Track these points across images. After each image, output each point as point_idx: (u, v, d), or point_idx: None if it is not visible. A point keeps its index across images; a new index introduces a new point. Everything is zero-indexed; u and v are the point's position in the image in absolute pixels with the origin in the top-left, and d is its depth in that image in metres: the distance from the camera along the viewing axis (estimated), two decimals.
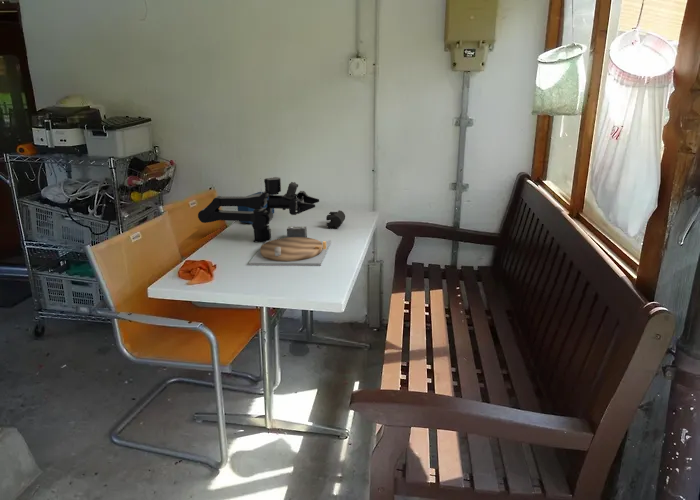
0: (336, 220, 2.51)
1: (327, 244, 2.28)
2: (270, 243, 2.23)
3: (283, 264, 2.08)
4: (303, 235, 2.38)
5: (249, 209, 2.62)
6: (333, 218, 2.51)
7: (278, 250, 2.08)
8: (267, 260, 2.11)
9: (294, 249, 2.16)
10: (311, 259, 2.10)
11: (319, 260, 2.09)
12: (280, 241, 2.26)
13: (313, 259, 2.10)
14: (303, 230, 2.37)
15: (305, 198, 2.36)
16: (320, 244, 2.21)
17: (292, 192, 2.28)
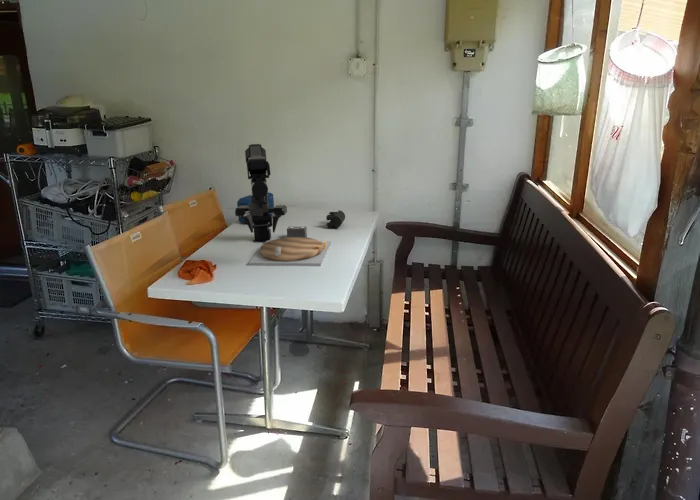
0: (336, 220, 2.51)
1: (327, 244, 2.28)
2: (270, 243, 2.23)
3: (283, 264, 2.08)
4: (303, 235, 2.38)
5: None
6: (333, 218, 2.51)
7: (278, 250, 2.08)
8: (267, 260, 2.11)
9: (294, 249, 2.16)
10: (311, 259, 2.10)
11: (319, 260, 2.09)
12: (280, 241, 2.26)
13: (313, 259, 2.10)
14: (303, 230, 2.37)
15: None
16: (320, 244, 2.21)
17: None
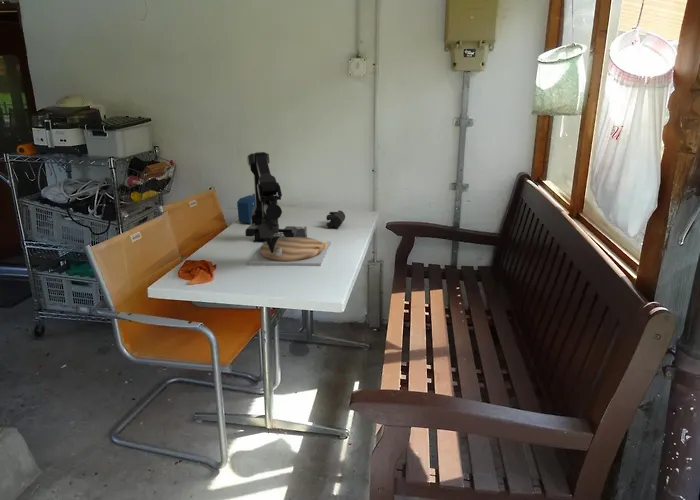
0: (336, 220, 2.51)
1: (327, 244, 2.28)
2: None
3: (283, 264, 2.08)
4: (303, 235, 2.38)
5: (249, 209, 2.62)
6: (333, 218, 2.51)
7: (279, 250, 2.08)
8: (267, 260, 2.11)
9: (295, 249, 2.16)
10: (311, 259, 2.10)
11: (319, 260, 2.09)
12: (280, 241, 2.26)
13: (313, 259, 2.10)
14: (303, 230, 2.37)
15: None
16: (320, 244, 2.21)
17: None
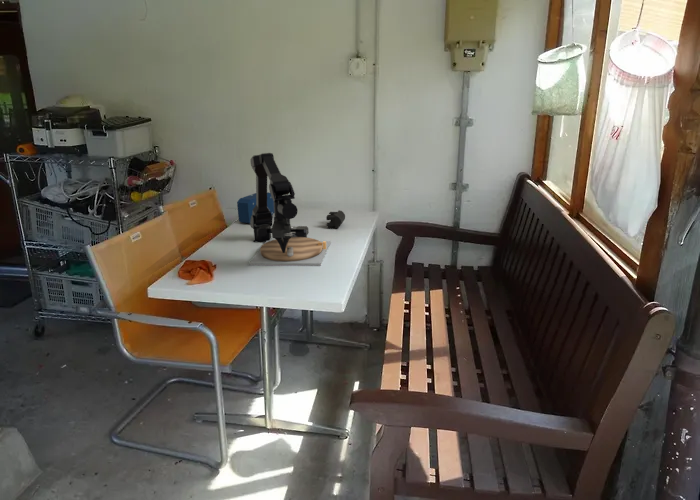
0: (336, 220, 2.51)
1: (327, 244, 2.28)
2: (267, 247, 2.20)
3: (283, 264, 2.08)
4: None
5: (249, 209, 2.62)
6: (333, 218, 2.51)
7: (292, 250, 2.08)
8: (267, 260, 2.11)
9: (298, 248, 2.17)
10: (311, 259, 2.10)
11: (319, 260, 2.09)
12: (274, 243, 2.24)
13: (313, 259, 2.10)
14: None
15: None
16: (317, 241, 2.25)
17: None
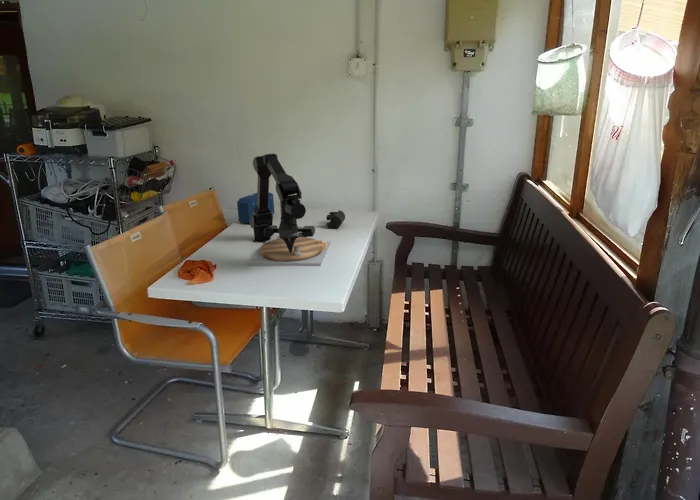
0: (336, 220, 2.51)
1: (327, 244, 2.28)
2: (267, 248, 2.17)
3: (283, 264, 2.08)
4: None
5: (249, 209, 2.62)
6: (333, 218, 2.51)
7: (299, 249, 2.08)
8: (267, 260, 2.11)
9: (300, 247, 2.18)
10: (311, 259, 2.10)
11: (319, 260, 2.09)
12: (271, 245, 2.22)
13: (313, 259, 2.10)
14: None
15: None
16: (313, 239, 2.27)
17: None
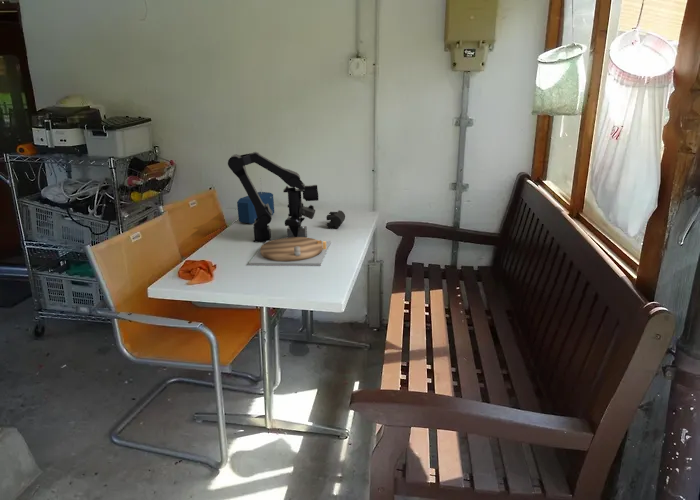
0: (336, 220, 2.51)
1: (327, 244, 2.28)
2: (267, 248, 2.17)
3: (283, 264, 2.08)
4: (303, 235, 2.38)
5: (249, 209, 2.62)
6: (333, 218, 2.51)
7: (299, 249, 2.08)
8: (267, 260, 2.11)
9: (300, 247, 2.18)
10: (311, 259, 2.10)
11: (319, 260, 2.09)
12: (271, 245, 2.22)
13: (313, 259, 2.10)
14: (303, 230, 2.37)
15: None
16: (313, 239, 2.28)
17: (305, 215, 2.35)
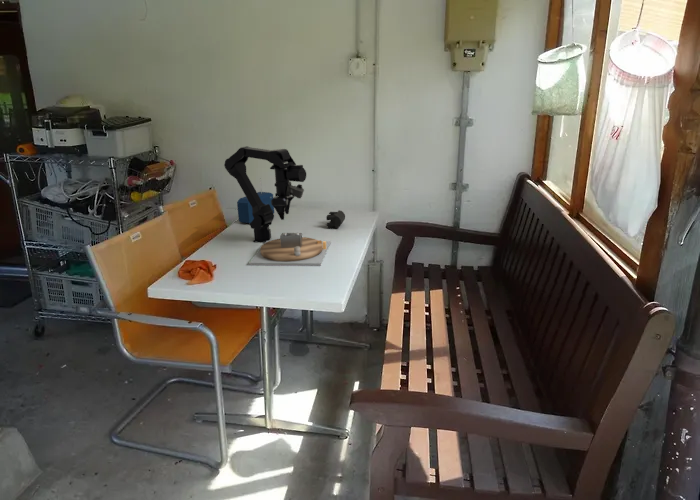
0: (336, 220, 2.51)
1: (327, 244, 2.28)
2: (267, 248, 2.17)
3: (283, 264, 2.08)
4: (298, 242, 2.17)
5: (249, 209, 2.62)
6: (333, 218, 2.51)
7: (299, 249, 2.08)
8: (267, 260, 2.11)
9: None
10: (311, 259, 2.10)
11: (319, 260, 2.09)
12: (271, 245, 2.22)
13: (313, 259, 2.10)
14: (298, 237, 2.16)
15: (288, 199, 2.33)
16: (313, 239, 2.28)
17: (293, 194, 2.24)
